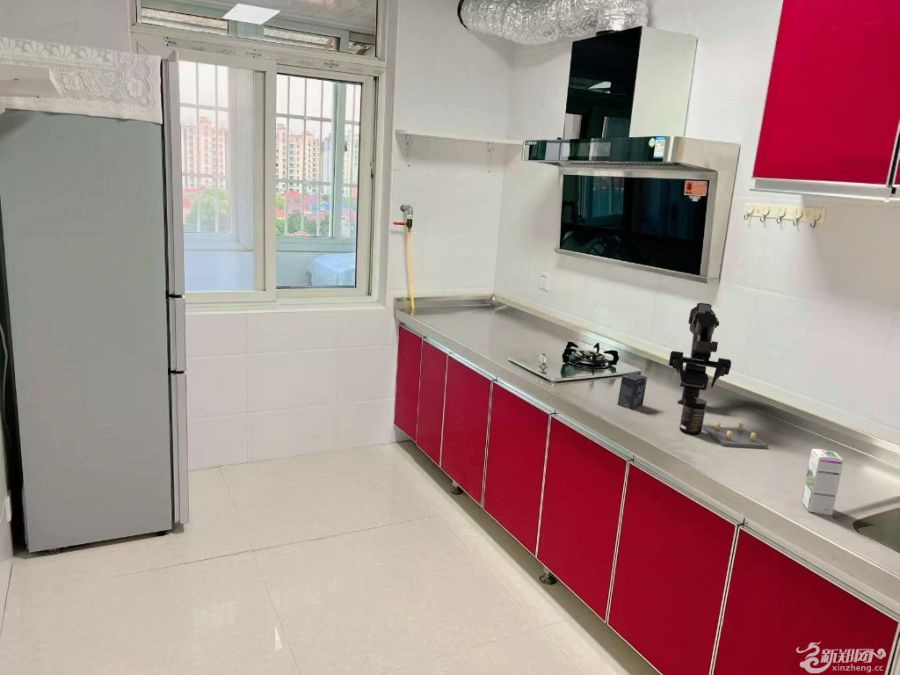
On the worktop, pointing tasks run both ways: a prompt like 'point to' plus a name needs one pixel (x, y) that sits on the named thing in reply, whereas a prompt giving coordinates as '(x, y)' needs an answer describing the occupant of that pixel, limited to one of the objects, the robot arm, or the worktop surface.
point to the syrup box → (822, 481)
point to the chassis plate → (734, 436)
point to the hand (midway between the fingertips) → (696, 384)
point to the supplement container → (692, 415)
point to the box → (632, 390)
